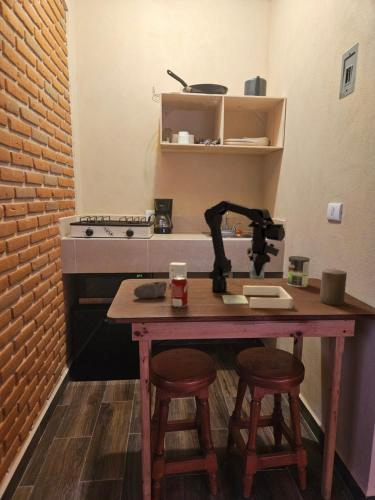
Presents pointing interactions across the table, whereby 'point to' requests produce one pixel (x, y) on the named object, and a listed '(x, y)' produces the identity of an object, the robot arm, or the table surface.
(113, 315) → the table surface
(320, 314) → the table surface
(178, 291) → the soda can
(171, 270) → the small box
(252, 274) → the slate block
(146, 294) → the perforated stone tool
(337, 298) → the pillar candle
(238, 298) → the sage pad
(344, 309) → the table surface
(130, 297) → the table surface
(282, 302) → the open-sided box
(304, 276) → the clear lidded jar
